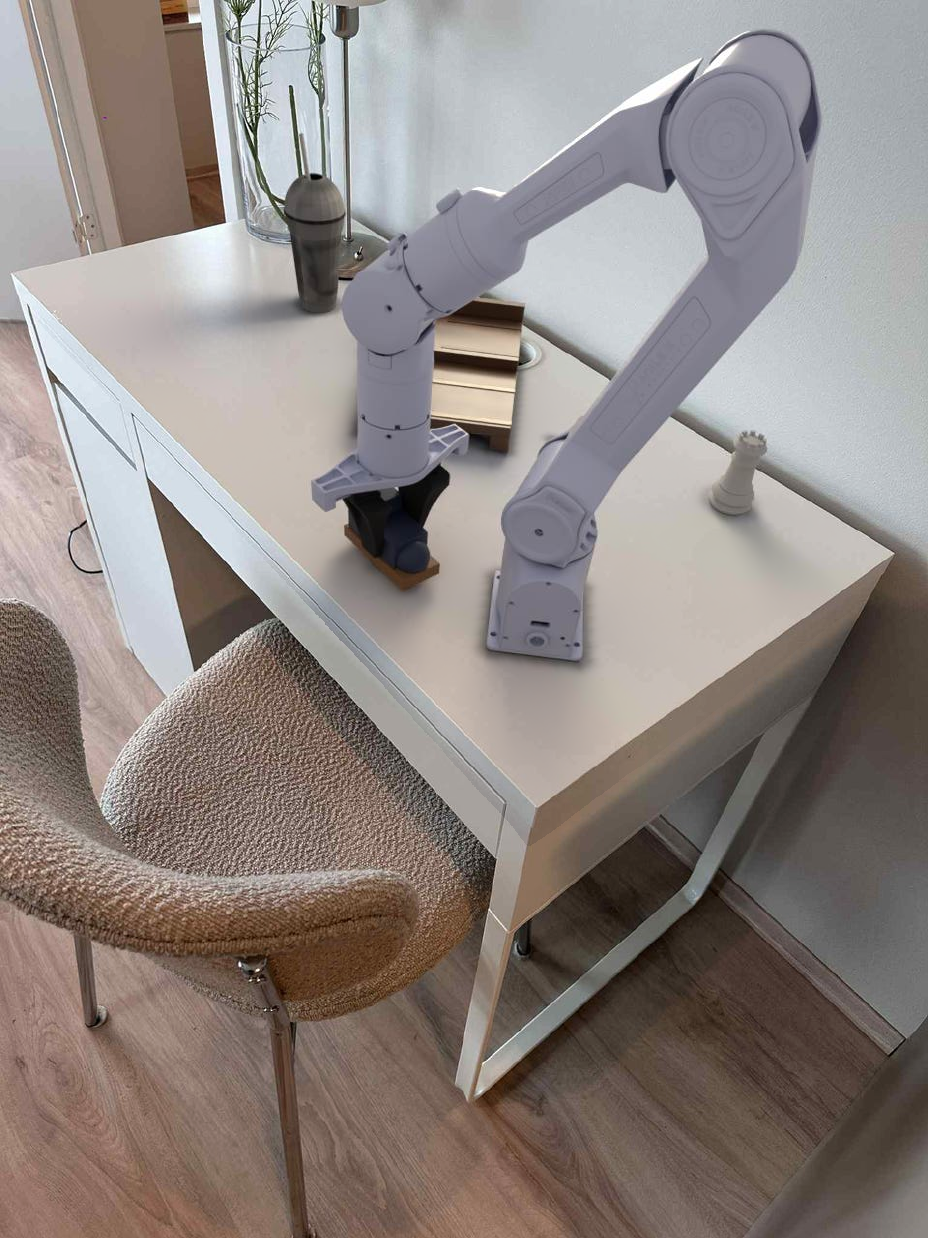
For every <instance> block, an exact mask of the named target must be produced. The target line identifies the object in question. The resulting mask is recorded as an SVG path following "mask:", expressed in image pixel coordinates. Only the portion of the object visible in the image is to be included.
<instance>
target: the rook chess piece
mask: <svg viewBox="0 0 928 1238" xmlns="http://www.w3.org/2000/svg"><path fill="white" fill-rule="evenodd" d="M756 432H757V430H753V429H751V430H750V431H749V433H748V430H745V429H744V430H742V432H741V433H740V434H739V436H737V437H736V438H735V439H734V440H733V447H734V449H735V450H734V451H733V452H732V453H731V455H730V457H731V461H730V463H729V465H728V467H727V469H726V470H725V472H724V474H722V475H721V476H720V477H719V478H718V479H716V480H715V481H714V483H713V484H712V485H711V490H710V491H708V499H709V502H710V504H711V505H712V507H713V508H714V509H715V510H717V511H718V512H720V513H722V514H725V515H729V516H739V515H742V514H745V513H747V512H749V511H750V510H751V508H752V507H753V501H754V500H755V490H754V484H753V479H754V475H755V472H756V469H757V467H758V466H759V465H760V464H761V460H760V458H761V457H762V456H764V455H766V453H767V452H768V447H767V438H765V435H764V434H763V433H762V432H761V433H759V434H758V435H756Z"/></svg>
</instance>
